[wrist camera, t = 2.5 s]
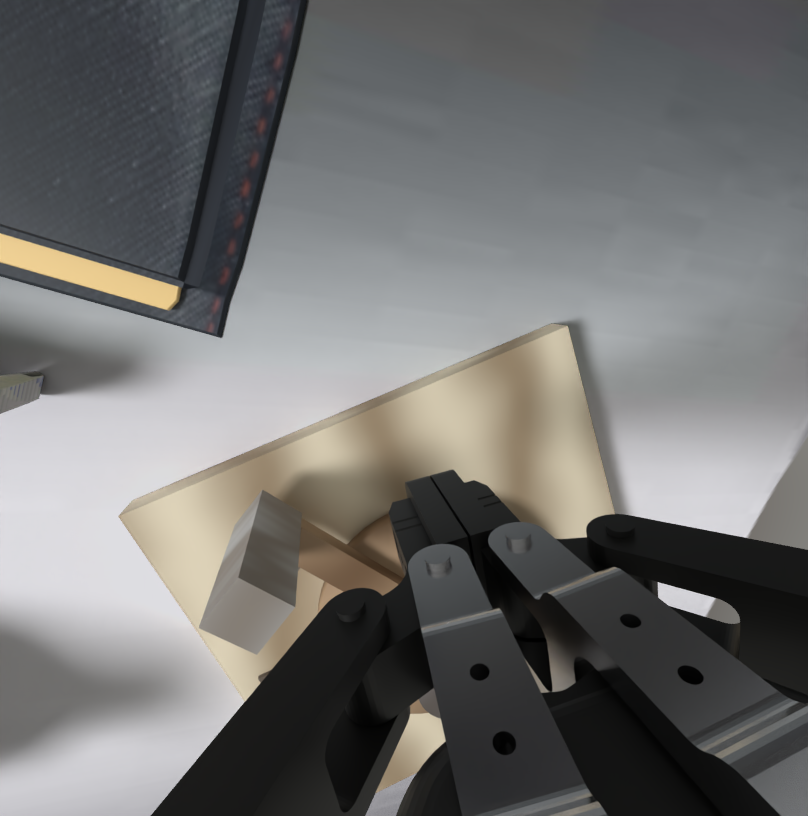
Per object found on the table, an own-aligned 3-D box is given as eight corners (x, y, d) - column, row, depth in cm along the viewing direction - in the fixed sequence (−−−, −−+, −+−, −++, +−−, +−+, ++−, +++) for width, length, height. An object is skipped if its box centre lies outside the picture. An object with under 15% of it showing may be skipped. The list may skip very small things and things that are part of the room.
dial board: (551, 323, 22) (570, 326, 21) (634, 638, 29) (653, 658, 27) (132, 500, 20) (116, 518, 19) (324, 790, 27) (324, 822, 26)
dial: (583, 570, 24) (683, 676, 18) (447, 726, 25) (493, 882, 19) (333, 391, 19) (341, 445, 12) (174, 596, 20) (104, 748, 13)
